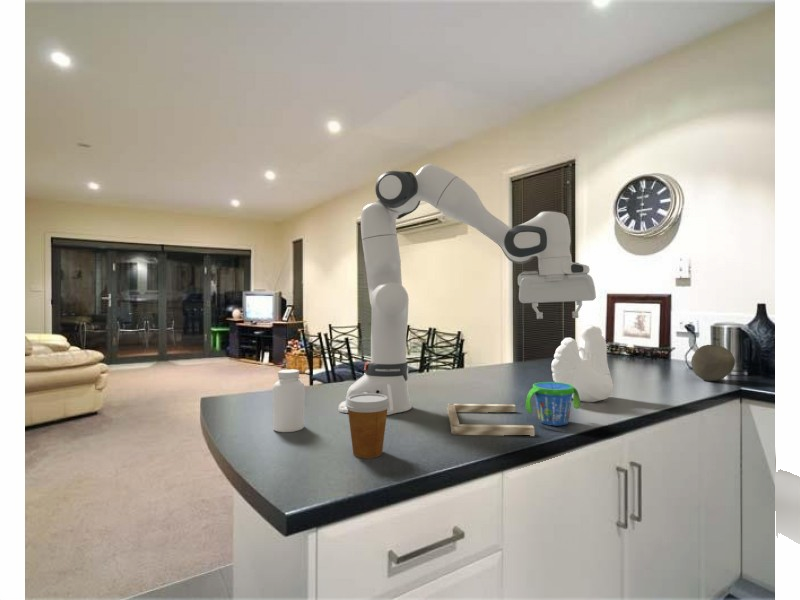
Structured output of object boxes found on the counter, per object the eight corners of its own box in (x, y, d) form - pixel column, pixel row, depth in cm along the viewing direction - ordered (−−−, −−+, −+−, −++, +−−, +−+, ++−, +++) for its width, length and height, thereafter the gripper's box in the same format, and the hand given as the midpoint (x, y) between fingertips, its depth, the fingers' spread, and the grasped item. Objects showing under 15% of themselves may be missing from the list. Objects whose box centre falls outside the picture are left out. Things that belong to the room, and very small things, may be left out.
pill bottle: (276, 434, 105) (276, 374, 105) (270, 426, 112) (270, 369, 112) (308, 430, 109) (308, 371, 109) (300, 422, 116) (300, 367, 116)
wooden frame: (452, 434, 105) (452, 426, 105) (447, 410, 129) (447, 403, 129) (534, 436, 103) (534, 427, 103) (514, 411, 127) (514, 404, 127)
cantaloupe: (702, 383, 170) (702, 346, 170) (685, 377, 184) (685, 343, 184) (742, 384, 168) (742, 346, 168) (721, 378, 181) (721, 343, 182)
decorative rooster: (589, 392, 153) (588, 324, 154) (625, 402, 139) (624, 326, 139) (530, 398, 145) (530, 325, 146) (562, 408, 130) (562, 327, 131)
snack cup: (535, 429, 108) (535, 390, 109) (517, 419, 119) (517, 382, 119) (591, 427, 111) (591, 388, 111) (569, 416, 121) (568, 380, 121)
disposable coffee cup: (346, 446, 96) (346, 393, 96) (388, 445, 97) (388, 392, 97) (344, 462, 87) (344, 403, 87) (391, 460, 88) (391, 402, 88)
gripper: (515, 271, 121) (517, 319, 121) (594, 265, 112) (596, 318, 112) (519, 272, 126) (521, 318, 126) (594, 267, 118) (596, 316, 118)
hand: (557, 318), depth 119 cm, fingers open, 8 cm apart
